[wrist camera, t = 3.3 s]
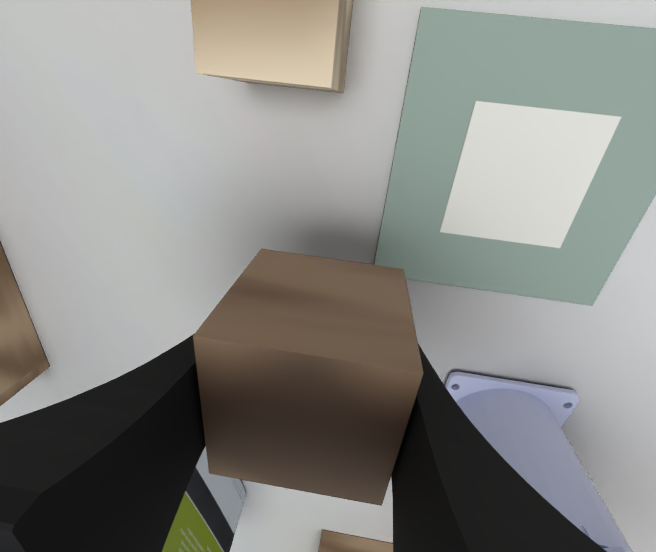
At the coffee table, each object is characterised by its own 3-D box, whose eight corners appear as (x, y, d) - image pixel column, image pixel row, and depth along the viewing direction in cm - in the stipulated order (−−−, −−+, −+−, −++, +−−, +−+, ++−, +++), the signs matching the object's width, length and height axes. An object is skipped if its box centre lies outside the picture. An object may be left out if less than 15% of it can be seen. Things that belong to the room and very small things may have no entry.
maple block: (343, 93, 15) (331, 87, 11) (247, 82, 15) (196, 73, 11) (357, -38, 13) (349, -113, 8) (245, -48, 13) (181, -125, 9)
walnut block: (378, 376, 14) (381, 505, 9) (260, 357, 14) (209, 473, 10) (403, 269, 11) (423, 372, 7) (261, 248, 12) (193, 336, 7)
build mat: (590, 303, 18) (593, 306, 18) (372, 272, 19) (372, 274, 19) (740, 37, 12) (748, 36, 12) (421, 8, 13) (421, 6, 13)
